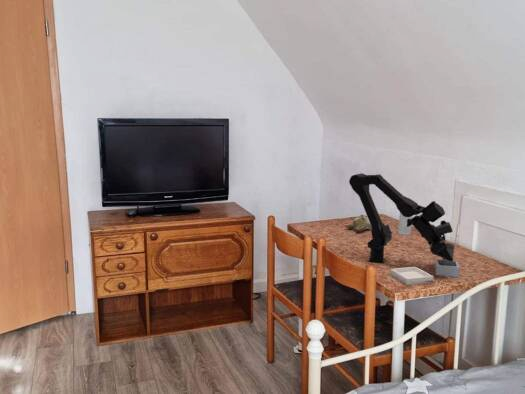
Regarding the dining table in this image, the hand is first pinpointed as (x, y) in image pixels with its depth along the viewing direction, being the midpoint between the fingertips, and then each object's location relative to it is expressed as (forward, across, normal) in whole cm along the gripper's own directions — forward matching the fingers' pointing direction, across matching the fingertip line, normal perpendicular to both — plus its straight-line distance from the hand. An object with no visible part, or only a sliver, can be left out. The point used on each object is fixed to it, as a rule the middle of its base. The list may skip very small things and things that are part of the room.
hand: (451, 257), depth 201 cm
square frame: (+4, 0, +6) cm, 7 cm away
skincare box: (-9, +56, +18) cm, 60 cm away
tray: (-6, -12, +15) cm, 21 cm away
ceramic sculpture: (-25, +56, +34) cm, 70 cm away
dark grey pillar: (+4, 0, +6) cm, 7 cm away
